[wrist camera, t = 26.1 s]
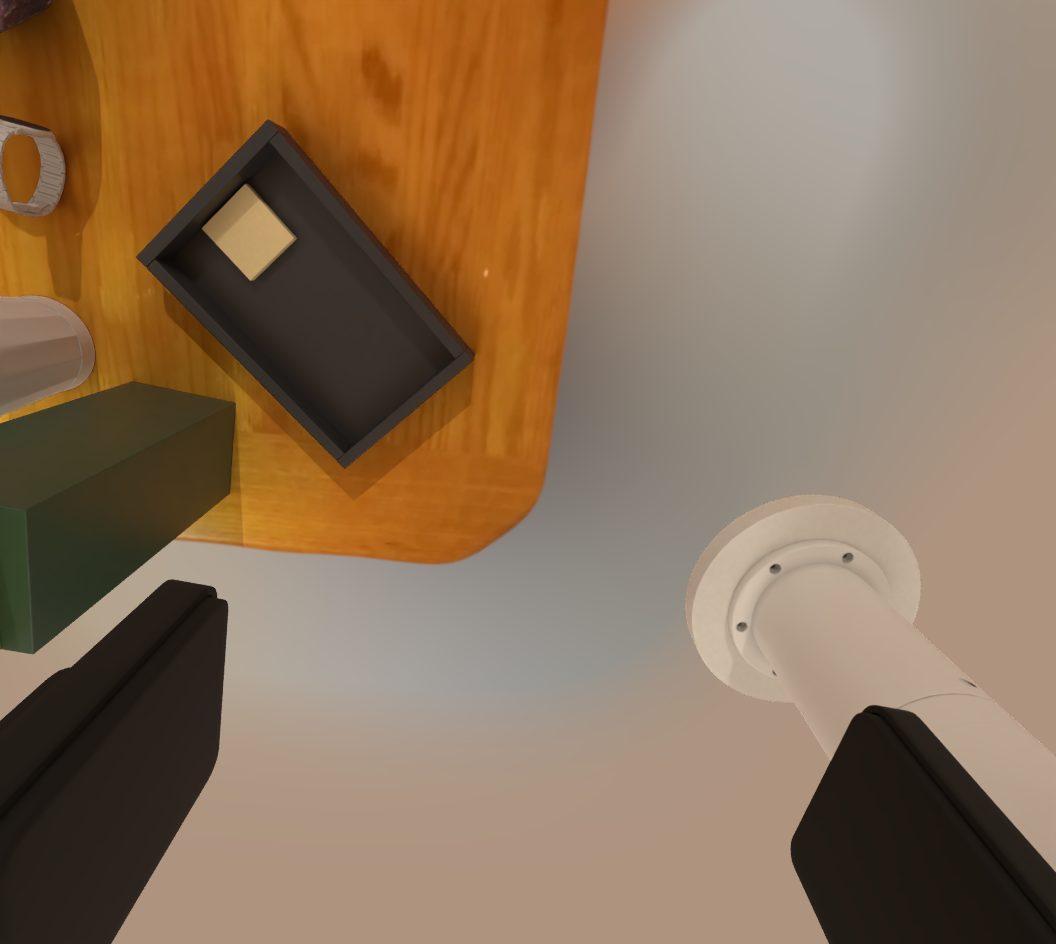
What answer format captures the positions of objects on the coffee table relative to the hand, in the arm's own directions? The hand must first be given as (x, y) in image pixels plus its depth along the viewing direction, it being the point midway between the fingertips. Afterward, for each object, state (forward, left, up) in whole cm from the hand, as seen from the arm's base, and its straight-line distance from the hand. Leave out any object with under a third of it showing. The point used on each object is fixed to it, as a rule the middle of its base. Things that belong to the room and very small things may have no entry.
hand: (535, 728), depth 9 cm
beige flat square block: (+17, +8, -34) cm, 38 cm away
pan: (+11, +8, -34) cm, 37 cm away
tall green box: (+11, +22, -34) cm, 42 cm away
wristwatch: (+27, +15, -34) cm, 46 cm away
